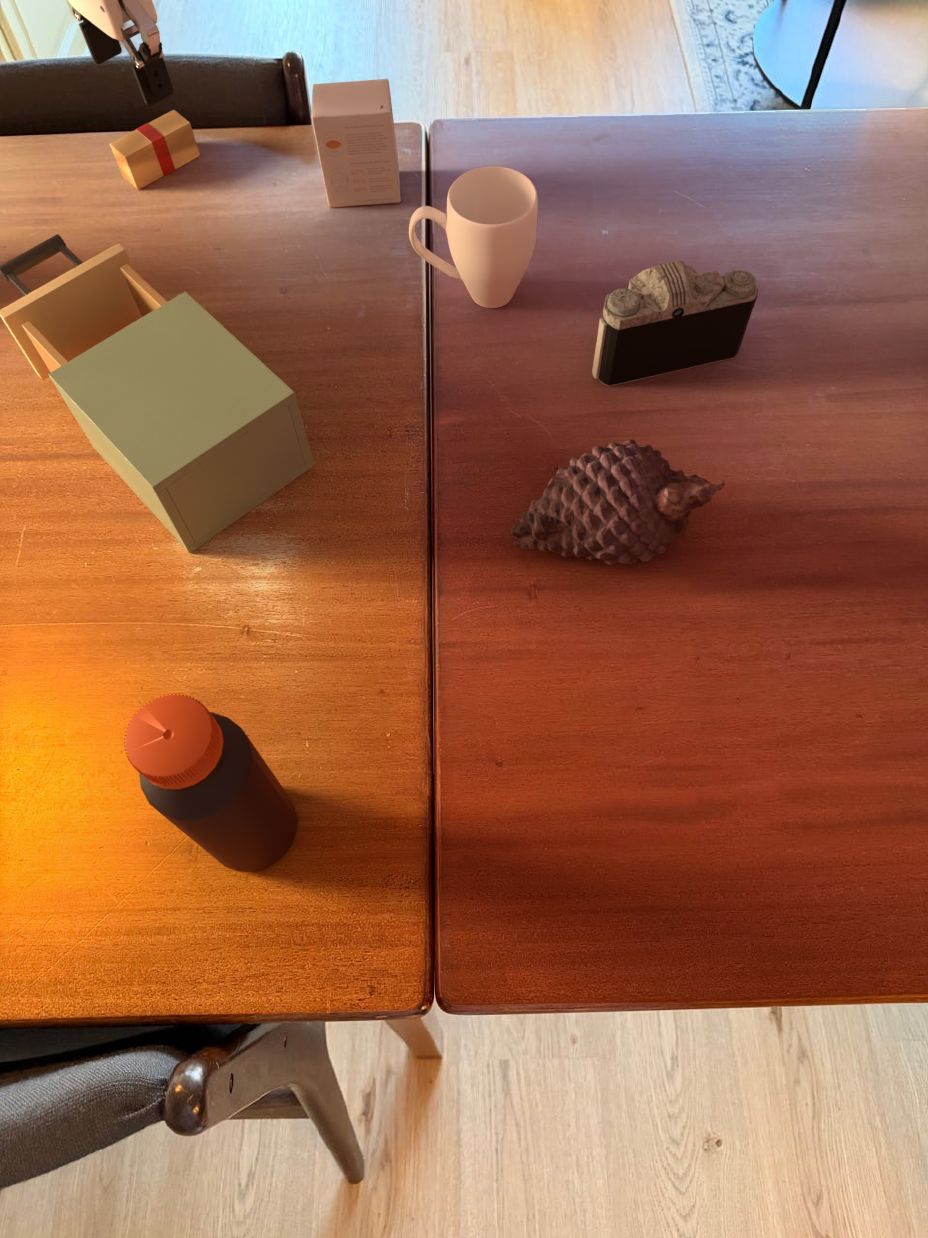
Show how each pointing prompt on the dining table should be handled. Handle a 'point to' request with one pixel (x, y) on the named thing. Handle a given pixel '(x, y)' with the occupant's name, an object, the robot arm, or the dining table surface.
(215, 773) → the bottle
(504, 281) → the mug
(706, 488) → the pine cone
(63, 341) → the drawer
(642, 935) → the dining table surface
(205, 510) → the cabinet
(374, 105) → the small box
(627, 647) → the dining table surface
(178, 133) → the tan rectangular block
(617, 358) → the camera
